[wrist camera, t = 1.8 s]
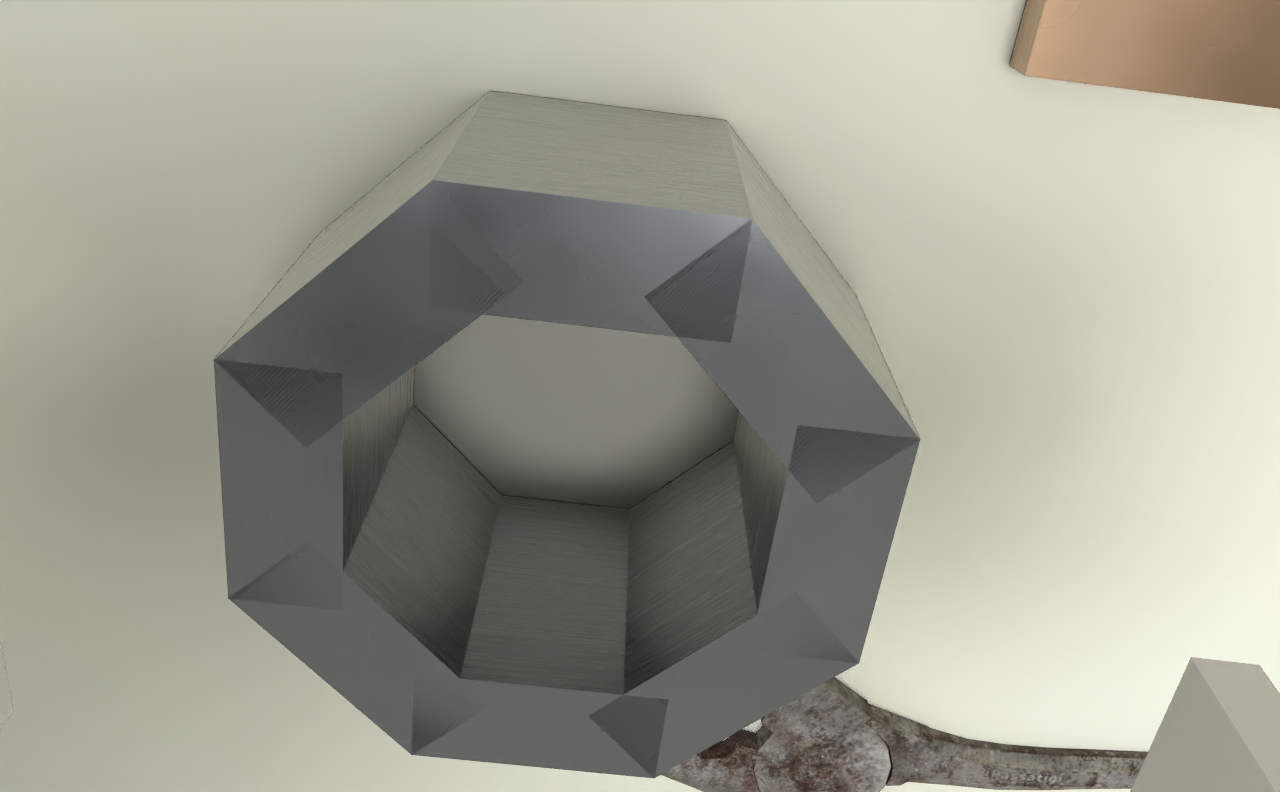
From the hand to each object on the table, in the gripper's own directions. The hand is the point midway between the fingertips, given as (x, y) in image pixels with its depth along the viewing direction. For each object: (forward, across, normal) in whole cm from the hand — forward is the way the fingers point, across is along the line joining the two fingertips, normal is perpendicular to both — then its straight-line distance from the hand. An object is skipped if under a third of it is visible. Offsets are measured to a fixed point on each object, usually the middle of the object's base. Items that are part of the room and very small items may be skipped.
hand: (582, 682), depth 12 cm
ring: (+8, -1, 0) cm, 8 cm away
